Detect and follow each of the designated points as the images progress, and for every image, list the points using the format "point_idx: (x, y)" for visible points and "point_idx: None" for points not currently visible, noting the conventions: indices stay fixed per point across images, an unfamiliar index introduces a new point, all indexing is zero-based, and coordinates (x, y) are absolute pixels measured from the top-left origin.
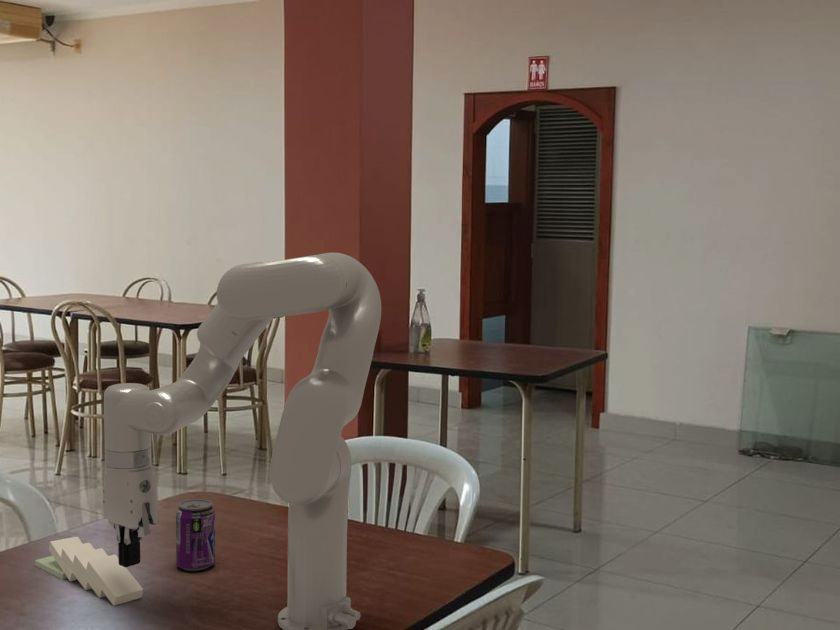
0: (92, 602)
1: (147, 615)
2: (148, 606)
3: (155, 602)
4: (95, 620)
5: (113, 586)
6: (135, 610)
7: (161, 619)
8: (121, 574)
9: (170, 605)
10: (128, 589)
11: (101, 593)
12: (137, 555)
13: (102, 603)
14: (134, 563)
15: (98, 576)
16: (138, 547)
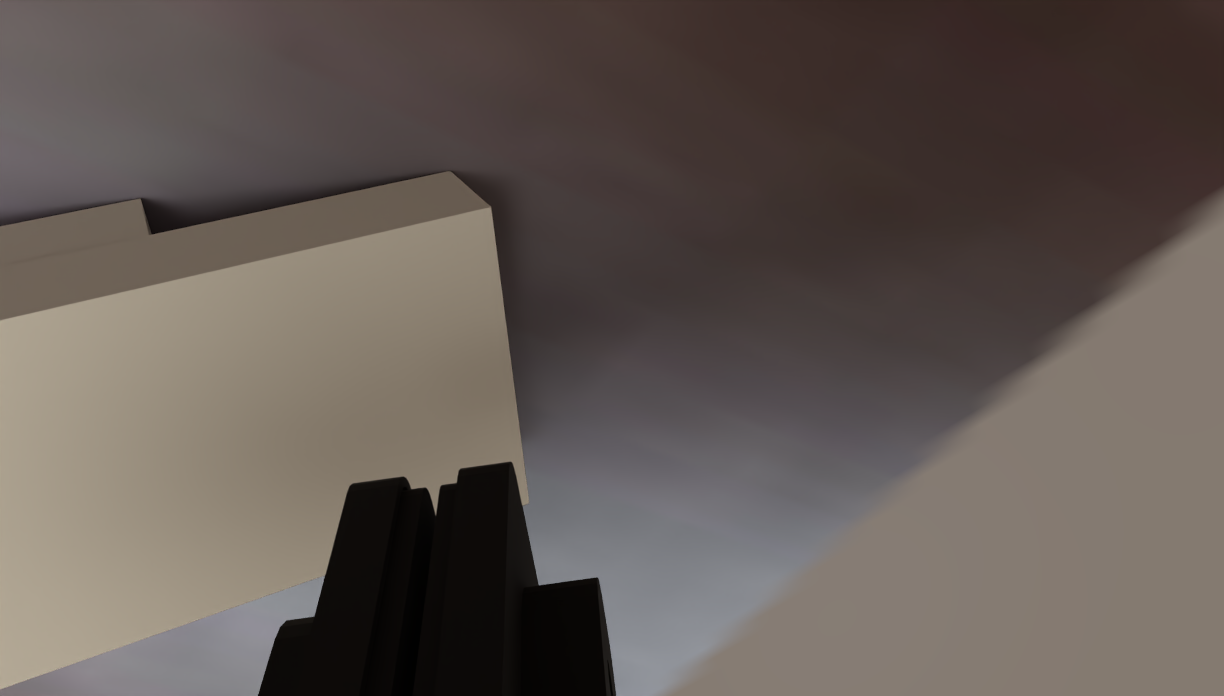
0: None
1: (899, 310)
2: (712, 210)
3: (663, 105)
4: (683, 634)
5: None
6: (716, 343)
7: (1077, 253)
8: (154, 400)
9: (854, 12)
10: (451, 369)
11: None
12: (604, 642)
13: None
14: (530, 551)
15: (137, 629)
16: (505, 690)
